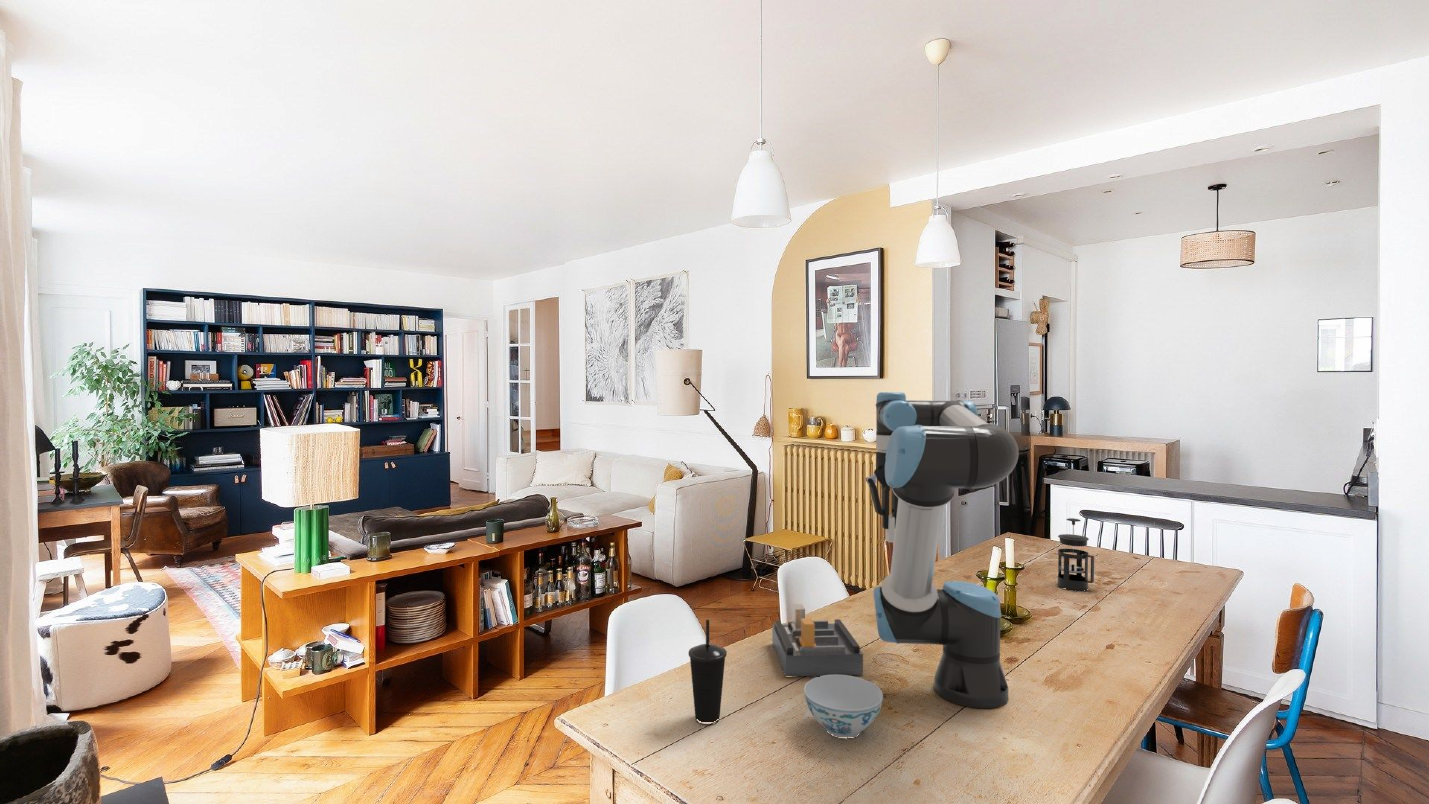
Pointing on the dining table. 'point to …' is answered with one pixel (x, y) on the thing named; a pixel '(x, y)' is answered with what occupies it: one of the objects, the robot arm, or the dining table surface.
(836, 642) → the grey compartment box
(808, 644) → the switch
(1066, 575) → the french press
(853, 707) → the chinaware
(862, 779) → the dining table surface
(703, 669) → the drinking cup
